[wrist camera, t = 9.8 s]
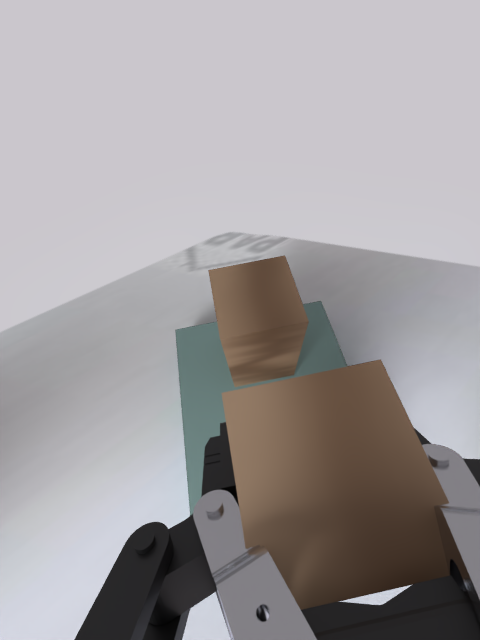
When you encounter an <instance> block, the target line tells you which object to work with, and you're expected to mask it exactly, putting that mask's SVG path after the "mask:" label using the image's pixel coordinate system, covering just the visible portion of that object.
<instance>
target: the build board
mask: <svg viewBox="0 0 480 640" xmlns="http://www.w3.org/2000/svg"><path fill="white" fill-rule="evenodd" d="M303 307H304V310H305V312H306V315H307V318H308V321H309V322H308V326H307V330H306V333H305V337H304V340H303V344H302V348H301V351H300V355H299V358H298V362H297V366H296V369H295V373H294V375H291V376H287V377H282V378H277V379H272V380H267V381H262V382H257V383H253V384H248V385H243V386H238V387H235V386H234V383H233V380H232V377H231V373H230V370H229V367H228V363H227V360H226V357H225V354H224V350H223V347H222V344H221V340H220V336H219V330H218V324H217V322H213V323H208V324H203V325H198V326H192V327H187V328H182V329H177V330H175V331H176V343H177V356H178V368H179V381H180V394H181V406H182V419H183V431H184V444H185V456H186V469H187V481H188V494H189V506H190V516H191V515H192V514H193V511H194V507H195V505H196V503H197V502H198V500H199V499H200V498H201V494H202V479H203V466H204V451H205V446H206V444H207V442H208V440H209V439H210V437H215V436H220V423H223V422H226V419H225V412H224V406H223V399H222V393H224V392H228V391H233V390H238V389H243V388H248V387H252V386H257V385H262V384H267V383H271V382H276V381H281V380H286V379H290V378H295V377H300V376H305V375H309V374H314V373H319V372H324V371H328V370H333V369H338V368H343V367H347V364H346V362H345V359H344V357H343V354H342V352H341V349H340V347H339V344H338V342H337V340H336V337H335V335H334V332H333V330H332V327H331V325H330V322H329V320H328V317H327V315H326V312H325V310H324V307H323V305H322V302H321V301H318V302H313V303H308V304H303Z"/></svg>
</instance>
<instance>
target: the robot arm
mask: <svg viewBox="0 0 480 640" xmlns="http://www.w3.org/2000/svg"><path fill="white" fill-rule="evenodd" d="M413 428H414V427H413ZM414 430H415V432H416V434H417V436H418V438H419V440H420V442H421V445H422V447H423V449H424V451H425V453H426V455H427V457H428V459H429V461H430V463H431V465H432V468H433V470H434V472H435V474H436V476H437V478H438V480H439V482H440V484H441V486H442V488H443V490H444V493H445V495H446V497H447V499H448V501H449V503H448V504H443V505H436V506H434V510H435V514H436V518H437V523H438V527H439V531H440V536H441V540H442V545H443V549H444V553H445V558H446V562H447V566H448V571H449V575H450V576H446V577H441V578H437V579H433V580H428V581H424V582H420V583H415V584H413V585H412V586H410V587H409V588H407V589H406V590H404V591H403V592H401V593H400V594H398V595H397V596H395V597H394V598H392V599H391V600H389V601H388V602H386V603H385V604H383V605H369V604H358V603H347V602H333V603H328V604H324V605H320V606H315V607H311V608H307V609H302V610H300V608H299V606H298V604H297V603H296V601H295V599H294V597H293V595H292V594H291V592H290V590H289V588H288V586H287V585H286V583H285V581H284V579H283V577H282V576H281V574H280V572H279V570H278V568H277V567H276V565H275V563H274V561H273V559H272V558H271V556H270V554H269V552H268V551H267V549H266V548H265V547H264V546H260V545H257V546H254V547H251V548H247V549H246V548H245V541H244V535H243V528H242V522H241V516H240V509H239V503H238V496H237V490H236V483H235V477H234V470H233V464H232V457H231V451H230V445H229V438H228V432H227V425H226V422H223V423H220V436H215V437H210V439H209V440H208V442H207V444H206V446H205V451H204V466H203V479H202V494H201V498H200V499H199V500H198V502H197V503H196V505H195V507H194V511H193V514H192V515H191V516H190V517H188V518H187V519H186V520H184V521H183V522H181V523H179V524H177V525H175V526H173V527H172V528H170V529H168V528H167V527H166V526H165V525H164V524H163V523H160V522H151V523H148V524H145V525H143V526H142V527H140V528H139V529H137V530H136V531H135V532H134V533H133V534H132V535H131V536H130V537H129V538H128V540H127V541H126V543H125V545H124V547H123V549H122V551H121V553H120V554H119V556H118V558H117V560H116V562H115V564H114V566H113V568H112V570H111V571H110V573H109V575H108V577H107V579H106V581H105V583H104V585H103V587H102V589H101V590H100V592H99V594H98V596H97V598H96V600H95V602H94V604H93V606H92V607H91V609H90V611H89V613H88V615H87V617H86V619H85V621H84V623H83V625H82V626H81V628H80V630H79V632H78V634H77V636H76V638H75V640H182V638H183V634H184V630H185V626H186V622H187V618H188V615H189V611H190V608H191V607H193V606H194V605H196V604H197V603H199V602H200V601H202V600H203V599H205V598H207V597H208V596H210V595H211V594H213V593H214V592H216V595H217V598H218V601H219V604H220V607H221V610H222V613H223V616H224V619H225V623H226V626H227V629H228V632H229V635H230V638H231V640H480V459H463V458H462V457H461V456H460V455H459V454H458V453H456V452H455V451H453V450H451V449H449V448H447V447H444V446H441V445H436V444H431V443H430V442H429V441H428V440H427V439H426V438H424V437H423V436H422V435H421V434H420V433H419V432H418V431H417V430H416V429H415V428H414Z"/></svg>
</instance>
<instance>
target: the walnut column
mask: <svg viewBox="0 0 480 640" xmlns="http://www.w3.org/2000/svg"><path fill="white" fill-rule="evenodd" d="M209 276H210V282H211V288H212V294H213V300H214V306H215V312H216V318H217V324H218V330H219V336H220V340H221V344H222V347H223V350H224V354H225V357H226V360H227V363H228V367H229V370H230V373H231V377H232V380H233V383H234V386H235V387H238V386H243V385H248V384H253V383H257V382H262V381H267V380H272V379H277V378H282V377H287V376H291V375H294V373H295V369H296V366H297V362H298V358H299V355H300V351H301V348H302V344H303V340H304V337H305V333H306V330H307V326H308V322H309V321H308V318H307V315H306V312H305V310H304V307H303V304H302V301H301V298H300V296H299V293H298V290H297V287H296V285H295V282H294V279H293V276H292V274H291V271H290V268H289V265H288V262H287V260H286V257H285V256H280V257H275V258H270V259H264V260H259V261H254V262H249V263H244V264H239V265H233V266H228V267H223V268H218V269H213V270H209Z"/></svg>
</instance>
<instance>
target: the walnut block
mask: <svg viewBox="0 0 480 640" xmlns="http://www.w3.org/2000/svg"><path fill="white" fill-rule="evenodd" d="M222 399H223V406H224V412H225V419H226V425H227V432H228V438H229V445H230V451H231V457H232V464H233V470H234V477H235V483H236V490H237V496H238V503H239V509H240V516H241V522H242V528H243V535H244V541H245V548H246V549H247V548H251V547H254V546H257V545H260V546H264V547H265V548H266V549H267V551H268V552H269V554H270V556H271V558H272V559H273V561H274V563H275V565H276V567H277V568H278V570H279V572H280V574H281V576H282V577H283V579H284V581H285V583H286V585H287V586H288V588H289V590H290V592H291V594H292V595H293V597H294V599H295V601H296V603H297V604H298V606H299V608H300V610H302V609H307V608H311V607H315V606H320V605H324V604H328V603H333V602H338V601H343V600H347V599H351V598H356V597H360V596H364V595H369V594H373V593H377V592H382V591H386V590H391V589H395V588H399V587H404V586H408V585H412V584H415V583H420V582H424V581H428V580H433V579H437V578H441V577H446V576H450V575H449V571H448V566H447V562H446V558H445V553H444V549H443V545H442V540H441V536H440V531H439V527H438V523H437V518H436V514H435V510H434V506H436V505H443V504H448V503H449V501H448V499H447V497H446V495H445V493H444V490H443V488H442V486H441V484H440V482H439V480H438V478H437V476H436V474H435V472H434V470H433V468H432V465H431V463H430V461H429V459H428V457H427V455H426V453H425V451H424V449H423V447H422V445H421V442H420V440H419V438H418V436H417V434H416V432H415V430H414V428H413V426H412V424H411V422H410V420H409V417H408V415H407V413H406V411H405V409H404V407H403V405H402V403H401V401H400V399H399V397H398V394H397V392H396V390H395V388H394V386H393V384H392V382H391V380H390V378H389V376H388V374H387V372H386V369H385V367H384V365H383V363H382V361H381V360H376V361H371V362H366V363H362V364H357V365H352V366H347V367H343V368H338V369H333V370H328V371H324V372H319V373H314V374H309V375H305V376H300V377H295V378H290V379H286V380H281V381H276V382H271V383H267V384H262V385H257V386H252V387H248V388H243V389H238V390H233V391H228V392H224V393H222Z"/></svg>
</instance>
